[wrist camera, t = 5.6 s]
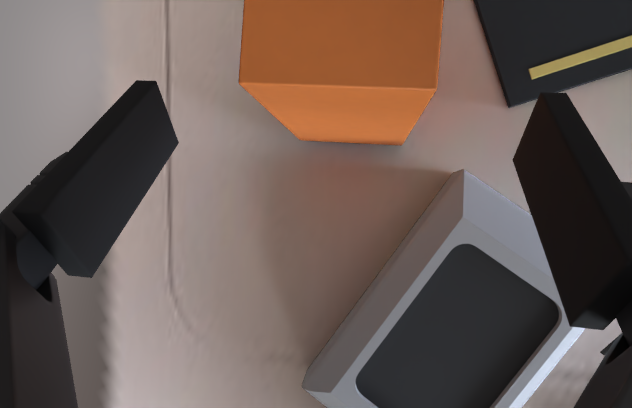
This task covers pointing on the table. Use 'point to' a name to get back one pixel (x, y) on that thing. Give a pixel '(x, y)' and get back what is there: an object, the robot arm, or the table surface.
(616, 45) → the mat
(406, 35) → the toy van
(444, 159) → the table surface
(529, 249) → the grey low boxy piece
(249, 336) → the table surface
